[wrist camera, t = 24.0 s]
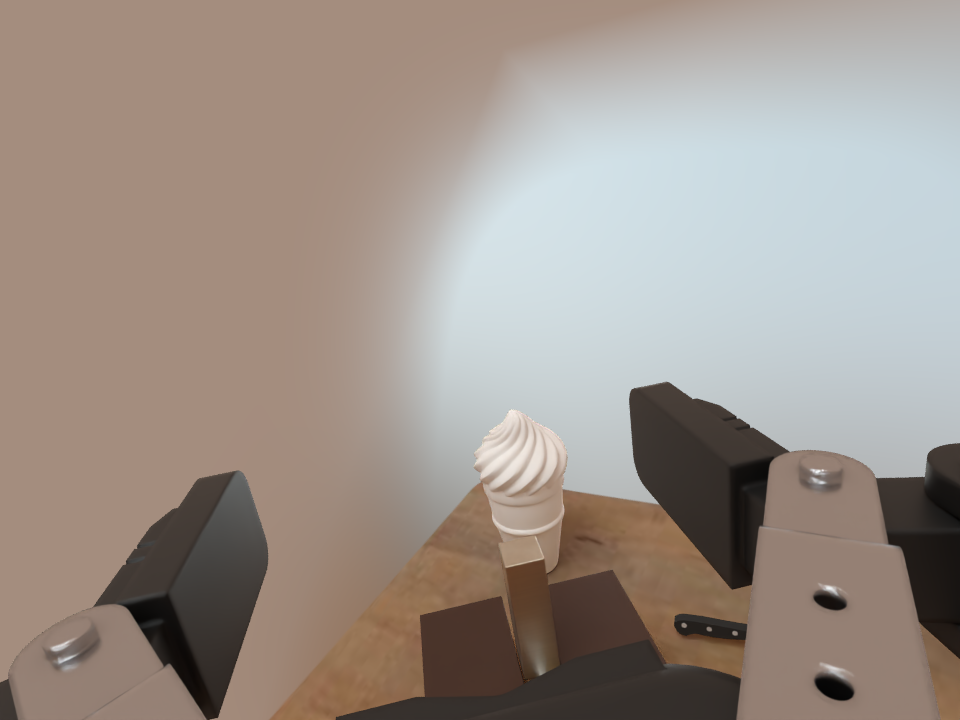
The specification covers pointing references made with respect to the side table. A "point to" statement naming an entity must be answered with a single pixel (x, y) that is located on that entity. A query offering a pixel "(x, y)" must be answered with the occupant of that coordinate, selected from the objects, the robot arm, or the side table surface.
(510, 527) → the ice cream cone
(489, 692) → the cake
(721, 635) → the knife
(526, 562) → the tall metal bar
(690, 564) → the side table surface
